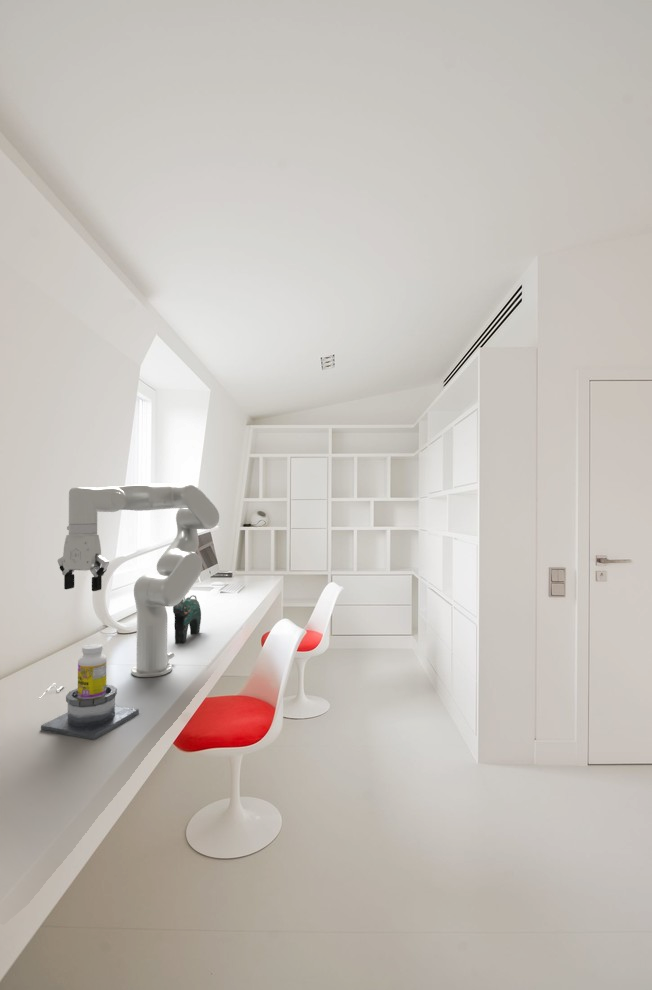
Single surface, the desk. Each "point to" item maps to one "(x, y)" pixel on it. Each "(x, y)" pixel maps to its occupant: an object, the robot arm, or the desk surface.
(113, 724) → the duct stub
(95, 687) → the supplement bottle
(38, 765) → the desk surface
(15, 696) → the desk surface
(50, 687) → the picture light
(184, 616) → the green elephant figurine
